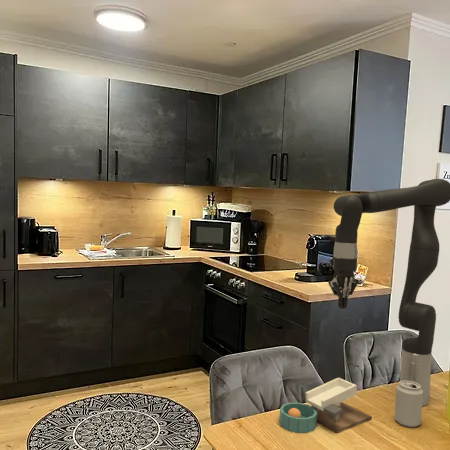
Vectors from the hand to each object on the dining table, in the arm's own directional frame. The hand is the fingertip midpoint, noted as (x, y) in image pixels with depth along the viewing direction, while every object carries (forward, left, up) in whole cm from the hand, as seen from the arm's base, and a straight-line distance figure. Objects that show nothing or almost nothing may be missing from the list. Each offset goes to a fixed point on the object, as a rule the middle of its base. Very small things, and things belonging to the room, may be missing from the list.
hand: (342, 308), depth 152 cm
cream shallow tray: (+11, +9, -25) cm, 29 cm away
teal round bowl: (+24, +5, -31) cm, 39 cm away
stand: (+10, +8, -31) cm, 34 cm away
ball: (+25, +5, -28) cm, 38 cm away
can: (-6, +22, -31) cm, 39 cm away
